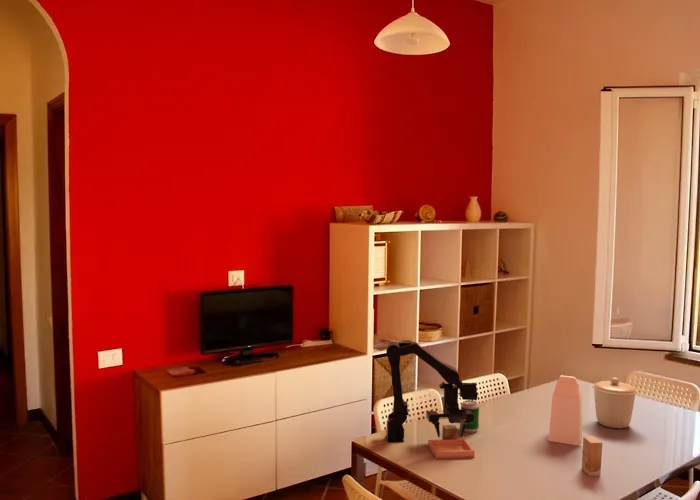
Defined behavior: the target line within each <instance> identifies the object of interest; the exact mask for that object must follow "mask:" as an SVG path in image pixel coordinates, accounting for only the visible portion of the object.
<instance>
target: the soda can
mask: <svg viewBox="0 0 700 500" xmlns="http://www.w3.org/2000/svg"><path fill="white" fill-rule="evenodd" d="M460 405H461V406H460V410H470V411H471V412H472V413H473V414H474V415H475V421H471V423H469V424H468V425H467V426H466V428H465V430H464V432H465V433H470V434H471V433H476V432H477V431H478V430H479V428H480V427H479V426H480V424H479V423H480V405H479V403H478V402H477V401H476V400H463V402H462V403H461V404H460Z"/></svg>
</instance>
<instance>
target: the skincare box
mask: <svg viewBox="0 0 700 500" xmlns="http://www.w3.org/2000/svg"><path fill="white" fill-rule="evenodd" d="M582 437H583V438H582V439H583V440H582V452H581V453H582V454H581V470H582V471H584V472H585V474H587V475H588V476H590V477H594V476H595V477H597V476H598V477H600V476H601V475H602V474H601V473H602V460H603V459H602V454H603V442H602V441H601V440H599V438H597V437H596V436H594V435H593V436H592V435H591V436H589V435H588V436H586V435H585V436H582Z"/></svg>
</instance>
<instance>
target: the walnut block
mask: <svg viewBox="0 0 700 500" xmlns="http://www.w3.org/2000/svg"><path fill="white" fill-rule="evenodd" d="M441 435H442V436H441V437H442V438H441V440H448V439H459V429H458V428H457V426H456V425H455V424H445V425H443V424H442V434H441Z"/></svg>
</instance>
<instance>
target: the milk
mask: <svg viewBox="0 0 700 500" xmlns="http://www.w3.org/2000/svg"><path fill="white" fill-rule="evenodd" d="M582 397H583V396H582V390H581V388H580V384H579V382H578V380H577V378H576V377H575V376H569V375H560V376H559V377H558V379H557V381H556V383H555V387H554V389H553V393H552V399H551V409H550V418H549V419H550V420H549V421H550V422H549V430H548V441H549V442H555V443H562V444H565V445H566V444H567V445H574V446H579V447H580V446H581V442H582V439H583V438H582V437H583V422H582V420H583V416H582V414H583V413H582V412H583V411H582V406H583V404H582V402H583V401H582Z"/></svg>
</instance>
